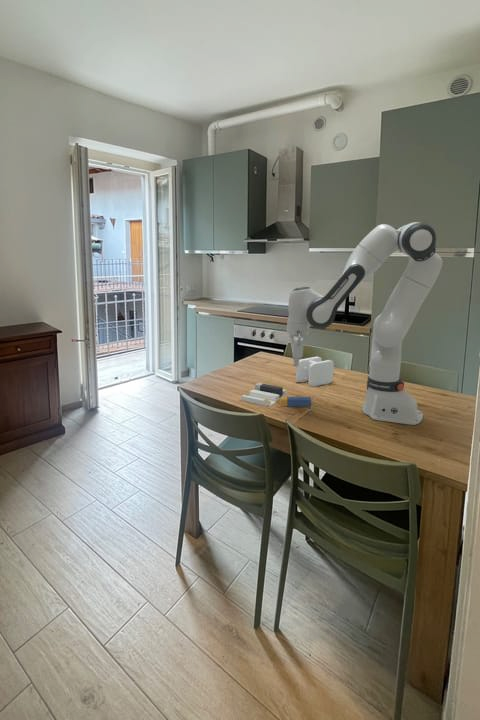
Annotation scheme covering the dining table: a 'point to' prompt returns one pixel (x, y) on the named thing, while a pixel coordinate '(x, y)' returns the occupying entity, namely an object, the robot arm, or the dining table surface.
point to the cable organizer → (315, 371)
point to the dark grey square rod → (269, 389)
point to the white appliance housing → (262, 397)
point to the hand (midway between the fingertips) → (295, 362)
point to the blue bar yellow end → (296, 401)
